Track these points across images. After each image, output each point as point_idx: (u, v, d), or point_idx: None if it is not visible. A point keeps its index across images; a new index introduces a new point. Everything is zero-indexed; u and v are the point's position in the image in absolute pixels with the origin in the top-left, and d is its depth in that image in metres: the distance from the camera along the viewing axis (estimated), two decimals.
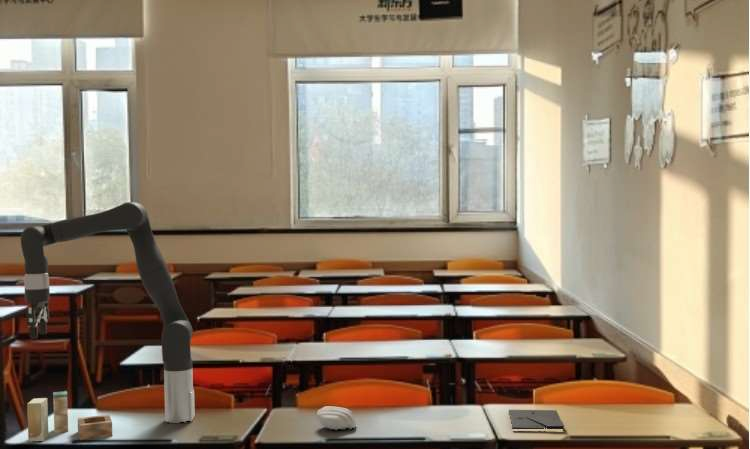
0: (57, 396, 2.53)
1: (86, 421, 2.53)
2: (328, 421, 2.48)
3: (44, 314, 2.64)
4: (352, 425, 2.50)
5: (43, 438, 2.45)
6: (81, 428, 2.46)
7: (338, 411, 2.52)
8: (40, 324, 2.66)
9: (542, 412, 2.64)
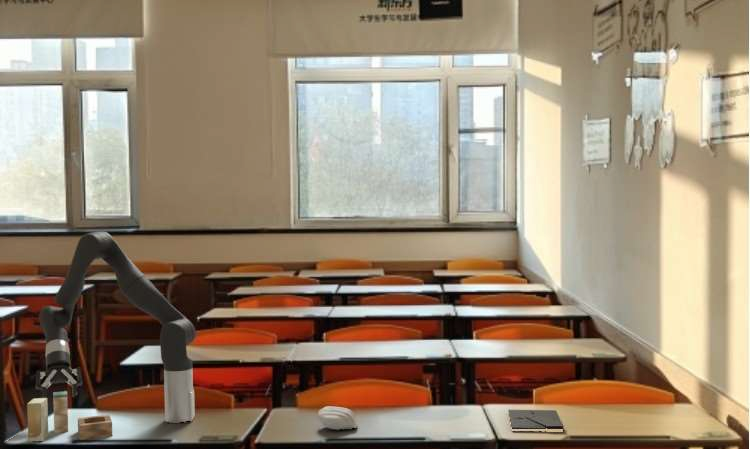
0: (57, 396, 2.53)
1: (86, 421, 2.53)
2: (329, 422, 2.48)
3: (66, 376, 2.63)
4: (353, 425, 2.50)
5: (43, 438, 2.45)
6: (81, 428, 2.46)
7: (339, 411, 2.52)
8: None
9: (542, 412, 2.64)
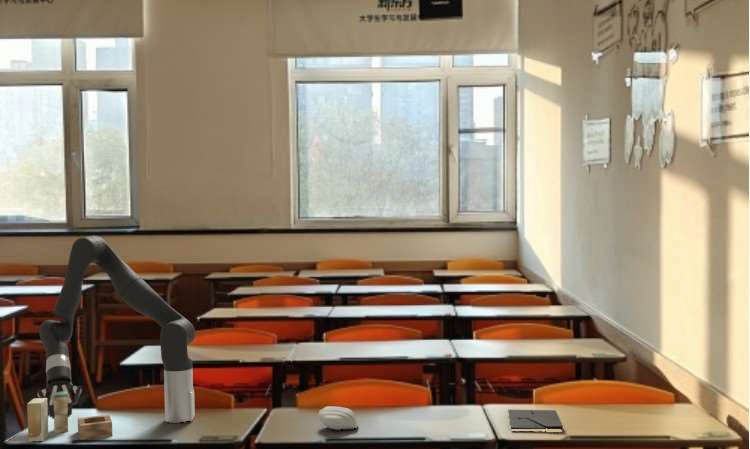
0: (57, 396, 2.53)
1: (86, 421, 2.53)
2: (330, 422, 2.48)
3: None
4: (354, 425, 2.50)
5: (43, 438, 2.45)
6: (81, 428, 2.46)
7: (340, 411, 2.52)
8: None
9: (541, 412, 2.64)
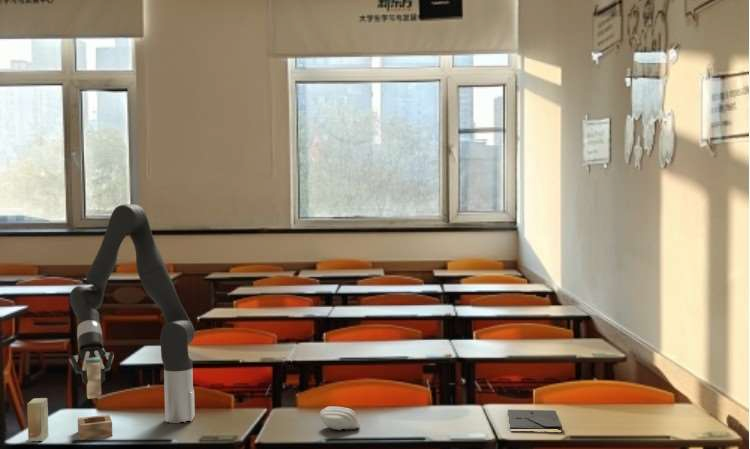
0: (90, 361, 2.49)
1: (86, 421, 2.53)
2: (332, 422, 2.47)
3: None
4: (355, 425, 2.50)
5: (43, 438, 2.45)
6: (81, 428, 2.46)
7: (341, 411, 2.52)
8: None
9: (541, 412, 2.63)
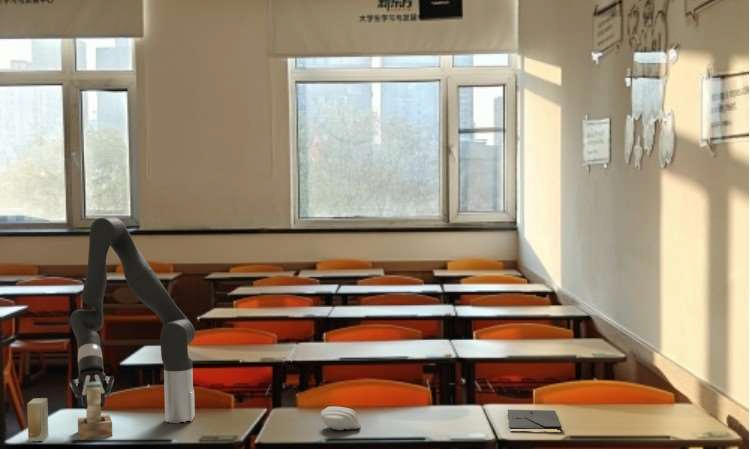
0: (90, 386, 2.49)
1: (86, 421, 2.53)
2: (332, 422, 2.47)
3: None
4: (356, 425, 2.50)
5: (43, 438, 2.45)
6: (81, 428, 2.46)
7: (342, 411, 2.52)
8: None
9: (541, 412, 2.63)
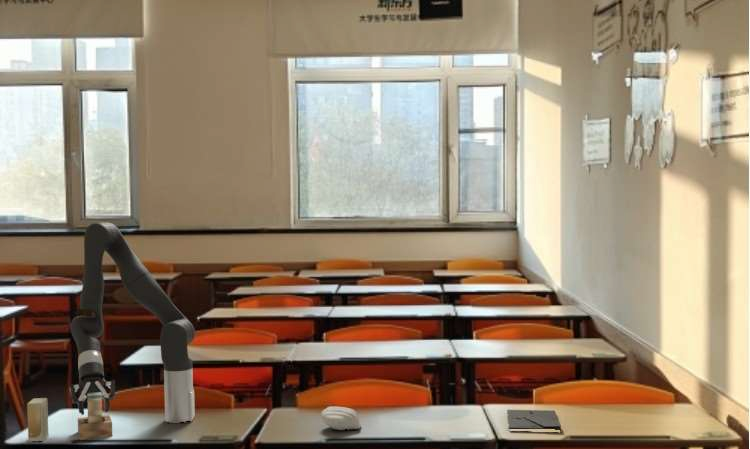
0: (91, 397, 2.49)
1: (86, 421, 2.53)
2: (333, 422, 2.47)
3: (99, 389, 2.54)
4: (357, 425, 2.50)
5: (43, 438, 2.45)
6: (81, 428, 2.46)
7: (343, 411, 2.52)
8: (104, 402, 2.54)
9: (540, 412, 2.63)
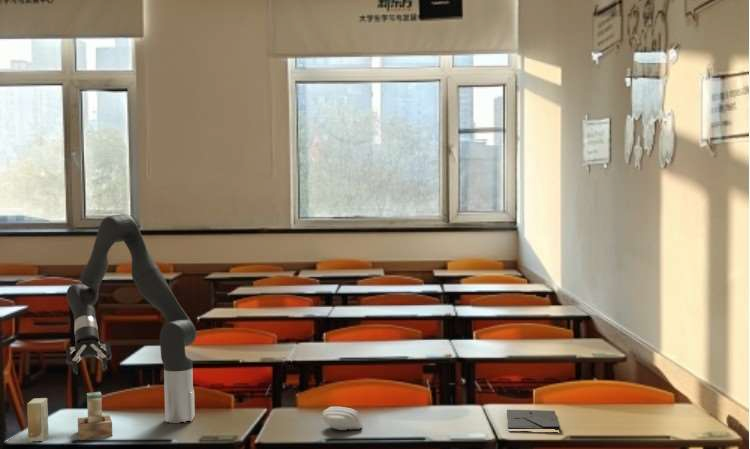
0: (91, 397, 2.49)
1: (86, 421, 2.53)
2: (334, 422, 2.47)
3: (95, 351, 2.68)
4: (358, 425, 2.50)
5: (43, 438, 2.45)
6: (81, 428, 2.46)
7: (344, 411, 2.52)
8: None
9: (540, 412, 2.63)
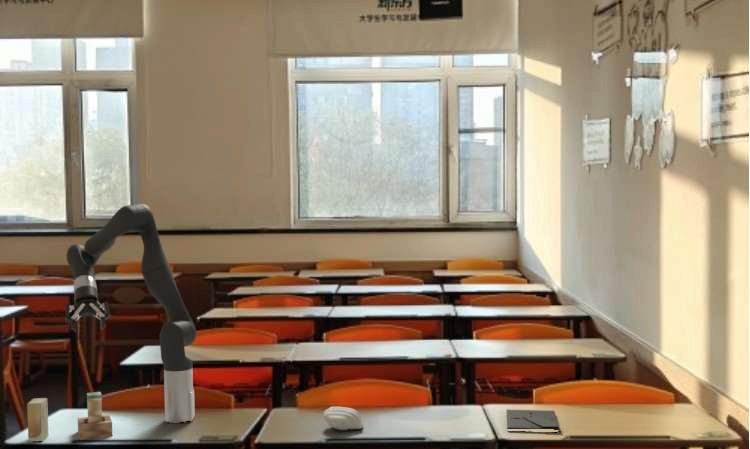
0: (91, 397, 2.49)
1: (86, 421, 2.53)
2: (335, 422, 2.47)
3: (94, 310, 2.70)
4: (359, 425, 2.50)
5: (43, 438, 2.45)
6: (81, 428, 2.46)
7: (345, 411, 2.52)
8: (100, 321, 2.70)
9: (540, 412, 2.63)
